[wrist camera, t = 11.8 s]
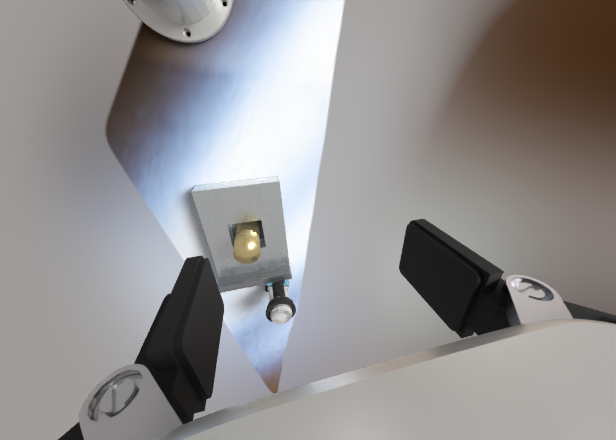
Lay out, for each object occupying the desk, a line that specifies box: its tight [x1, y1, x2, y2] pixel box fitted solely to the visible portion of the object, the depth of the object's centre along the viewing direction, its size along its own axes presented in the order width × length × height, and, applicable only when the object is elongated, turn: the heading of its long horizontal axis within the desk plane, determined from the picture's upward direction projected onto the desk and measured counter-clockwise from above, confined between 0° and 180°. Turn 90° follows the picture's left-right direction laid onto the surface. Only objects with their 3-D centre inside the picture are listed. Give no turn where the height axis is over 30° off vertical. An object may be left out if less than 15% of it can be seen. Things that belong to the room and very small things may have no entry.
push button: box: [262, 279, 296, 324], centre depth 42 cm, size 7×5×10 cm
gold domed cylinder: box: [233, 221, 260, 264], centre depth 36 cm, size 4×4×8 cm
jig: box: [191, 176, 292, 293], centre depth 37 cm, size 18×13×6 cm
